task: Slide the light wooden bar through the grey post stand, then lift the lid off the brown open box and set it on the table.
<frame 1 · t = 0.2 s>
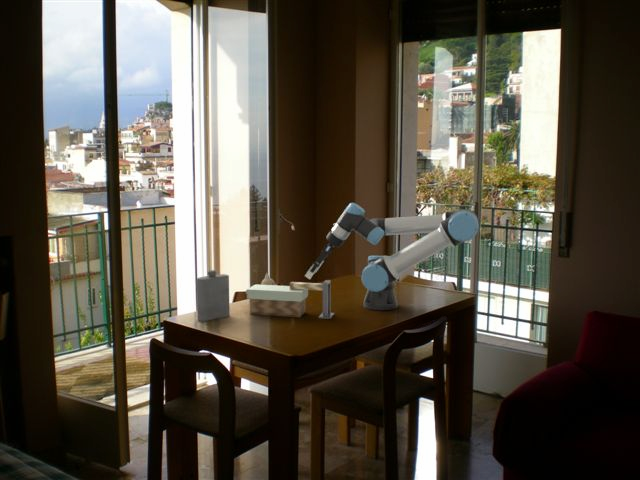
hand: (310, 274, 300), 16 cm above the table, tool tilted 35°, fingers open, 13 cm apart
brown open box: (277, 313, 296), on the table
grey post stand: (326, 316, 291), on the table
toy: (261, 304, 312), on the table
flask: (213, 318, 288), on the table
lid: (277, 297, 295), point 7 cm above the table, touching brown open box
light wooden bar: (308, 286, 291), point 12 cm above the table, slide at 0.0 cm
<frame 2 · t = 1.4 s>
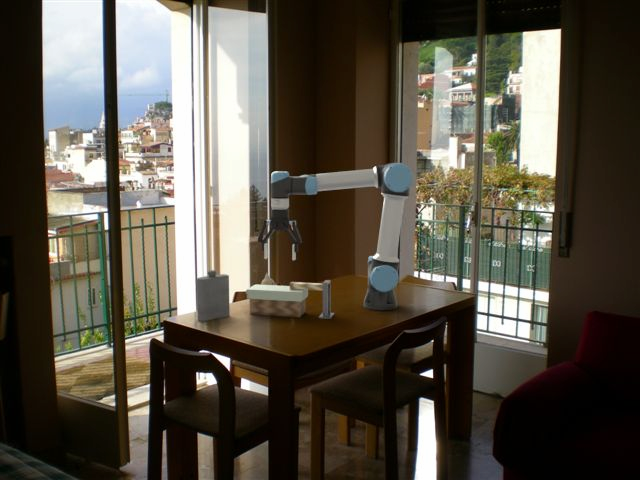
hand: (279, 259, 292), 24 cm above the table, tool pointing down, fingers open, 12 cm apart
nothing on the table moved.
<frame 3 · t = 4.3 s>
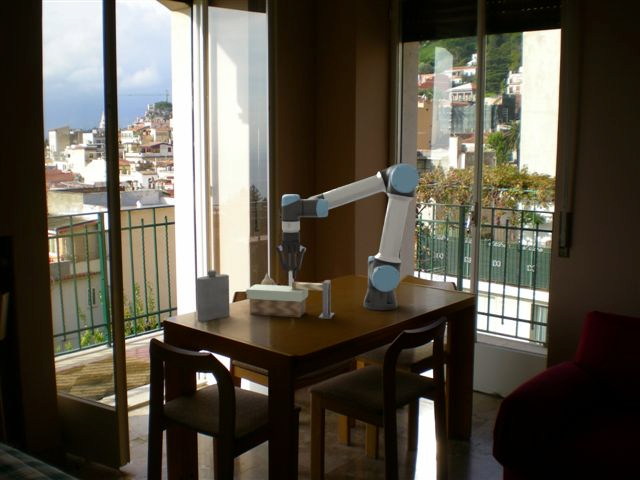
hand: (291, 286, 293), 12 cm above the table, tool pointing down, fingers closed
light wooden bar: (310, 286, 291), point 12 cm above the table, slide at 1.0 cm, touching gripper
everything else where it was.
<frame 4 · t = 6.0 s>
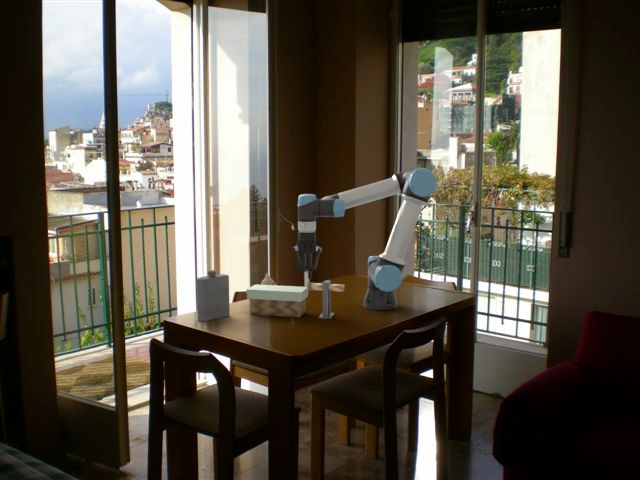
hand: (307, 286, 291), 12 cm above the table, tool pointing down, fingers closed
light wooden bar: (326, 287, 289), point 12 cm above the table, slide at 7.9 cm, touching gripper
everything else where it was.
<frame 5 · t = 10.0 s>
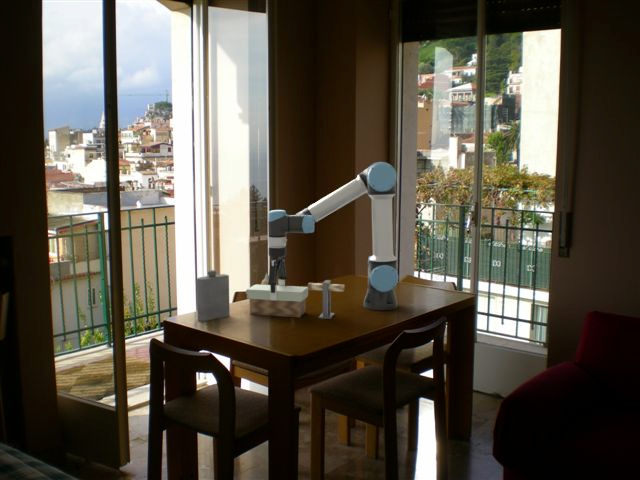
hand: (277, 297, 295), 7 cm above the table, tool pointing down, fingers closed on lid, 11 cm apart
lid: (277, 297, 295), point 7 cm above the table, touching gripper, brown open box
light wooden bar: (326, 287, 289), point 12 cm above the table, slide at 7.9 cm
everything else where it was.
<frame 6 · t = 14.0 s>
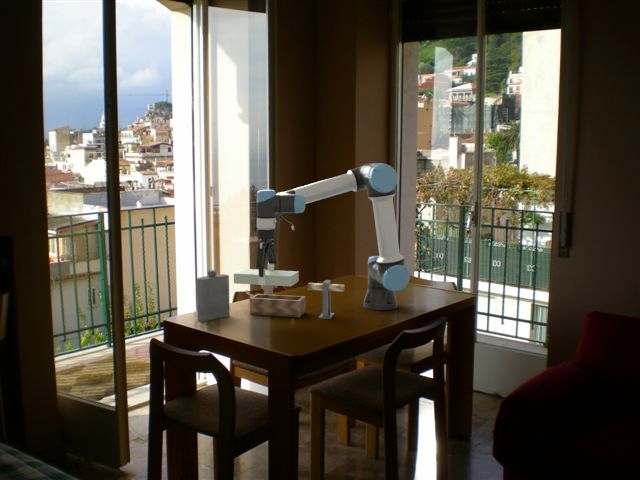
hand: (266, 282, 279), 17 cm above the table, tool pointing down, fingers closed on lid, 11 cm apart
lid: (266, 282, 279), point 17 cm above the table, touching gripper
everything else where it was.
when the fingers open (1 cm above the table, at t = 17.9 s): lid drops 1 cm, on the table.
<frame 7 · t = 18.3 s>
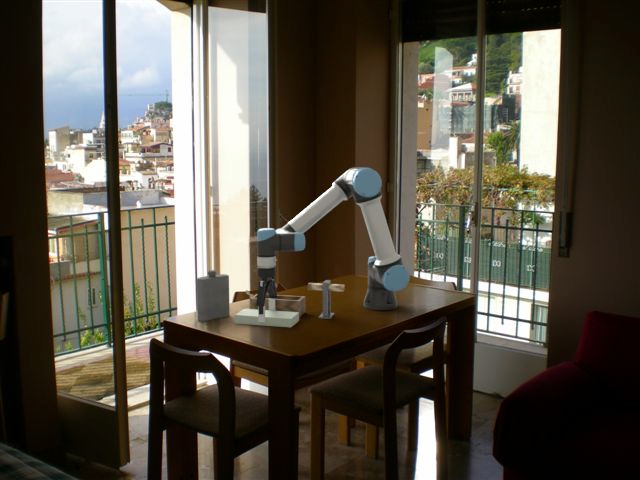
hand: (267, 317, 281), 2 cm above the table, tool pointing down, fingers open, 13 cm apart
lid: (267, 323, 281), on the table
everything else where it was.
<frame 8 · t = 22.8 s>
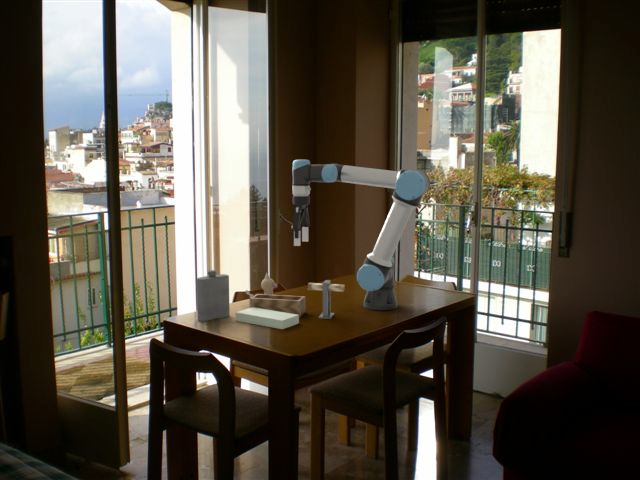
hand: (301, 243, 303), 29 cm above the table, tool pointing down, fingers open, 13 cm apart
at the end: light wooden bar slide at 7.9 cm; lid inside the target area (0.5 cm from its centre), on the table; lid tilted 0° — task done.
